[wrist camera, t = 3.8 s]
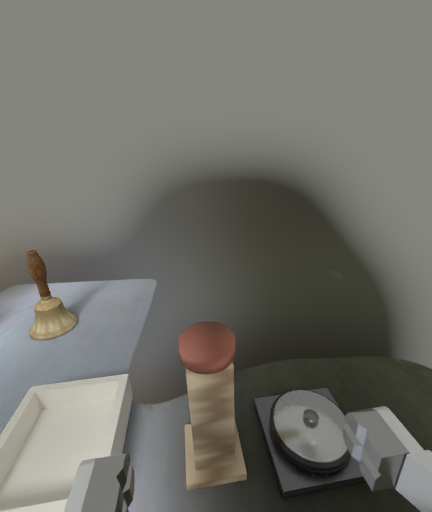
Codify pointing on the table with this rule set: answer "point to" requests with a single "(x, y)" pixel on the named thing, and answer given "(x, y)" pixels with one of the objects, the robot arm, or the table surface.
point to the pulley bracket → (306, 441)
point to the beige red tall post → (210, 406)
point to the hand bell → (47, 305)
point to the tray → (60, 439)
